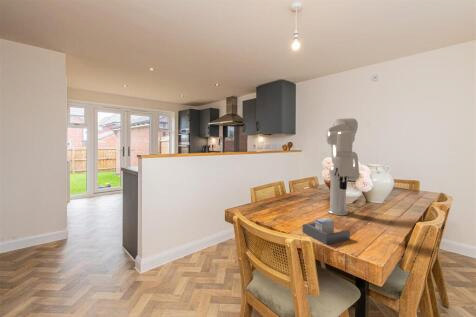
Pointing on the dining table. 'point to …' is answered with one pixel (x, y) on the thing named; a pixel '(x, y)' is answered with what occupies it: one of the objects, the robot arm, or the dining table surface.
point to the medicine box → (325, 225)
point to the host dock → (325, 234)
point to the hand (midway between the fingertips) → (342, 189)
